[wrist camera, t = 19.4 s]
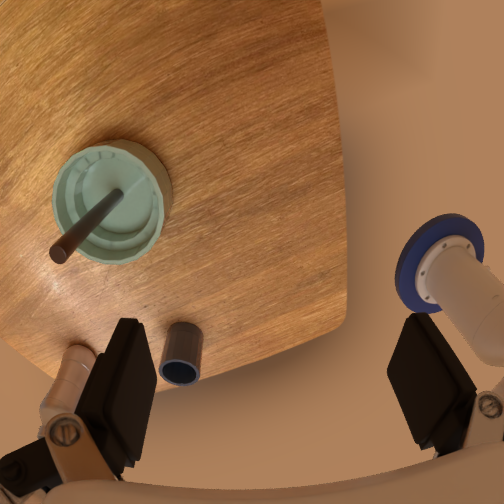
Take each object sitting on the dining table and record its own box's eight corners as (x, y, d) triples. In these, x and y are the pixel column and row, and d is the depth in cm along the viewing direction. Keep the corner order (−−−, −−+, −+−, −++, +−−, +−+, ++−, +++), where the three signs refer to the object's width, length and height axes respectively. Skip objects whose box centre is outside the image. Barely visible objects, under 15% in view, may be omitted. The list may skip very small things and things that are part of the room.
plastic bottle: (62, 346, 49) (22, 431, 31) (81, 335, 48) (40, 427, 30) (85, 368, 52) (53, 453, 34) (106, 358, 50) (75, 451, 33)
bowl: (171, 135, 34) (160, 141, 29) (176, 244, 41) (168, 265, 36) (66, 144, 33) (44, 153, 29) (81, 244, 40) (64, 263, 35)
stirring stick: (123, 188, 36) (63, 245, 22) (124, 201, 37) (68, 264, 23) (110, 188, 36) (46, 245, 22) (111, 202, 37) (51, 264, 23)
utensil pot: (202, 322, 47) (198, 360, 40) (204, 349, 50) (201, 386, 42) (164, 321, 47) (155, 358, 39) (169, 348, 49) (162, 384, 42)
